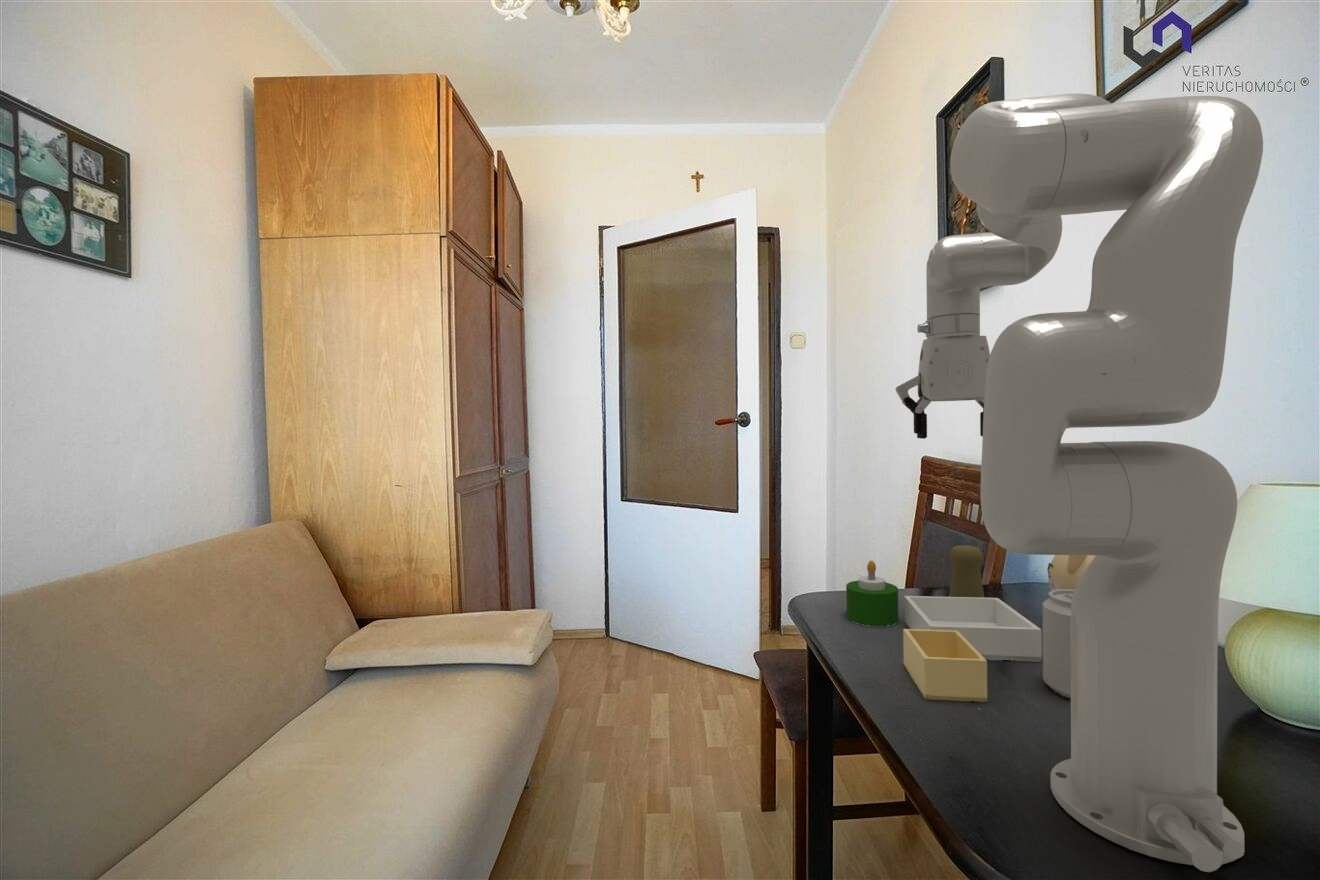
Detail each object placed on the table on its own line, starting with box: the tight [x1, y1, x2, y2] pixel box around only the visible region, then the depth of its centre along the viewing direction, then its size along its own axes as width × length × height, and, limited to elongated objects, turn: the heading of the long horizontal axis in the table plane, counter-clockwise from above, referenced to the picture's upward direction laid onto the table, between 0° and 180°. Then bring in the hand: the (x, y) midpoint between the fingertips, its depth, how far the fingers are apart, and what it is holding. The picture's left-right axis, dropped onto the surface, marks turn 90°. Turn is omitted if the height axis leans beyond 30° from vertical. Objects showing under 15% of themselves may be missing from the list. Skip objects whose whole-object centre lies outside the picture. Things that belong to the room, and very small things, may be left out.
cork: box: [948, 544, 985, 598], centre depth 103 cm, size 6×6×11 cm
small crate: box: [902, 628, 988, 703], centre depth 74 cm, size 10×7×5 cm
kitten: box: [1046, 555, 1096, 591], centre depth 91 cm, size 15×10×15 cm
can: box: [1042, 589, 1074, 699], centre depth 71 cm, size 8×8×12 cm
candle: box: [845, 560, 899, 626], centre depth 98 cm, size 8×8×10 cm
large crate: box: [903, 595, 1043, 663], centre depth 88 cm, size 14×14×4 cm
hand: (953, 437), depth 92 cm, fingers open, 9 cm apart
